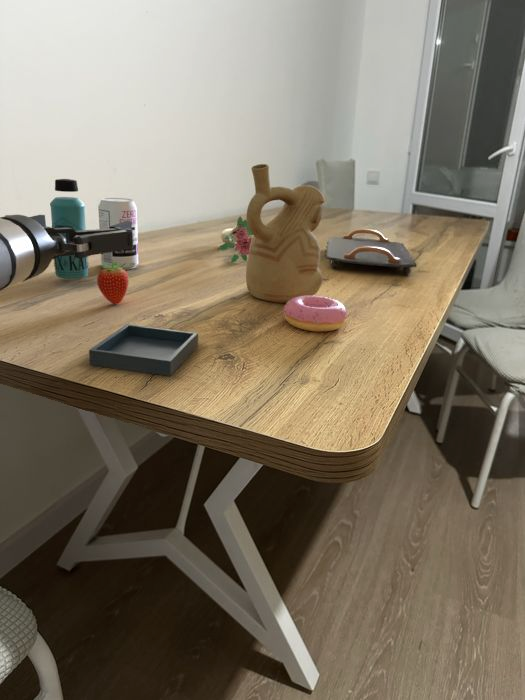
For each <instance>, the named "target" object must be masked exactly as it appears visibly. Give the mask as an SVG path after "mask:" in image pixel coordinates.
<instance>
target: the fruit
mask: <svg viewBox="0 0 525 700" xmlns="http://www.w3.org/2000/svg"><path fill="white" fill-rule="evenodd" d="M126 263H127V262H126ZM126 263H125V264H126ZM125 264H123V265H121V266H117V264H116V263H115V264H113V260H112V267H111V266H107V265H105V264H102V263H101V265H102V266H101V265H99V264H98V266H99V267H101V268H103V269H101V270H100V272H99V273H98V275H97V278H96V282H97V287H98V289H99V291H100V293H101V294H102V296H104V298H105V299H106V300H107V301H108V302H110V303H111V304H113V305H118V304H120V303H121V302H122V301H123V299H124V298H125V296H126V294H127V290H128V288H129V280H130V279H129V275H128V273H127V271H126V270H124V268H125V267H124V268H123V269H122V268H120V267H122V266H124V265H125ZM104 266H105V267H104Z"/></svg>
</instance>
